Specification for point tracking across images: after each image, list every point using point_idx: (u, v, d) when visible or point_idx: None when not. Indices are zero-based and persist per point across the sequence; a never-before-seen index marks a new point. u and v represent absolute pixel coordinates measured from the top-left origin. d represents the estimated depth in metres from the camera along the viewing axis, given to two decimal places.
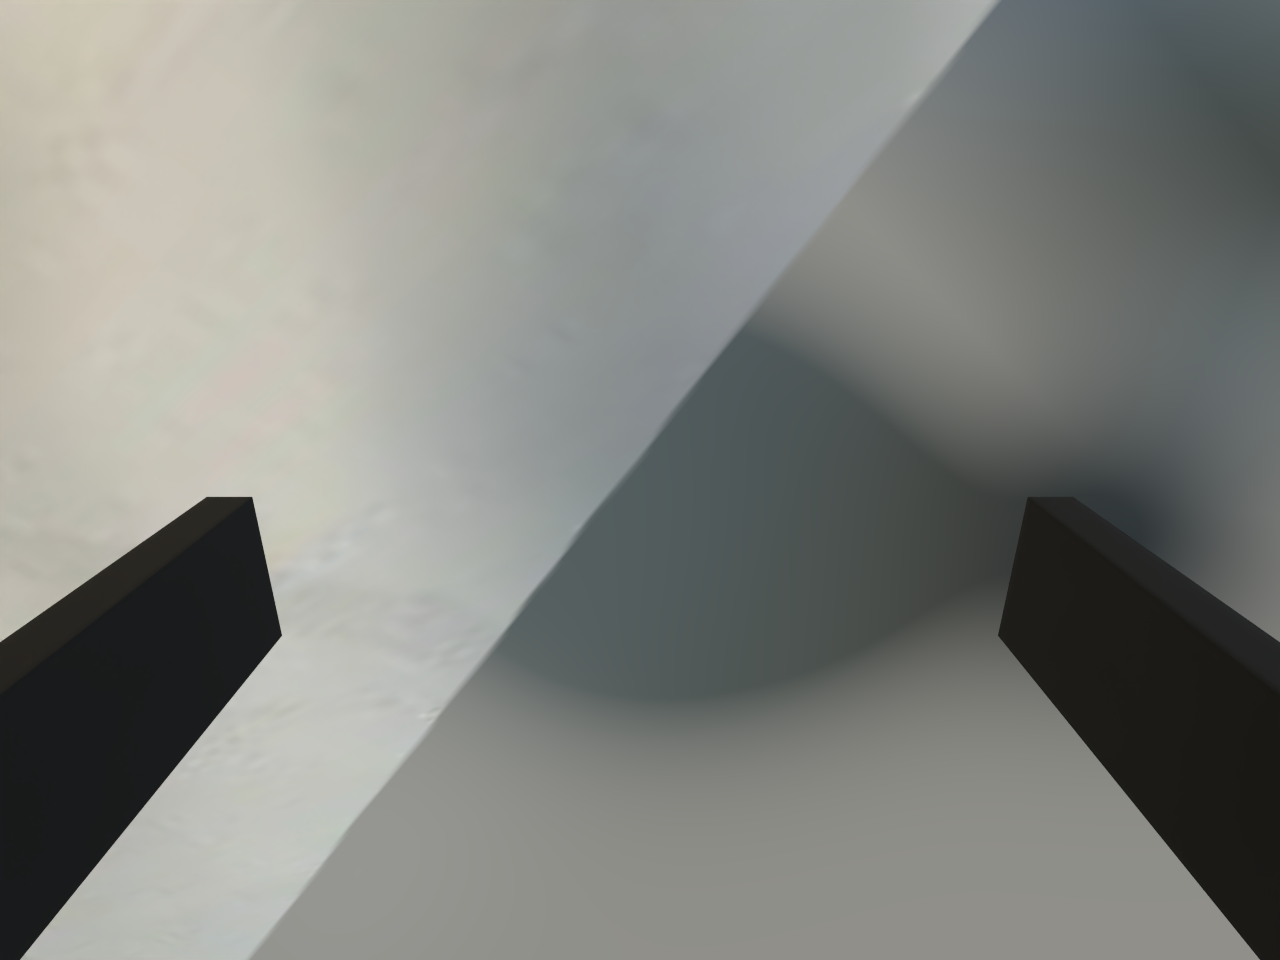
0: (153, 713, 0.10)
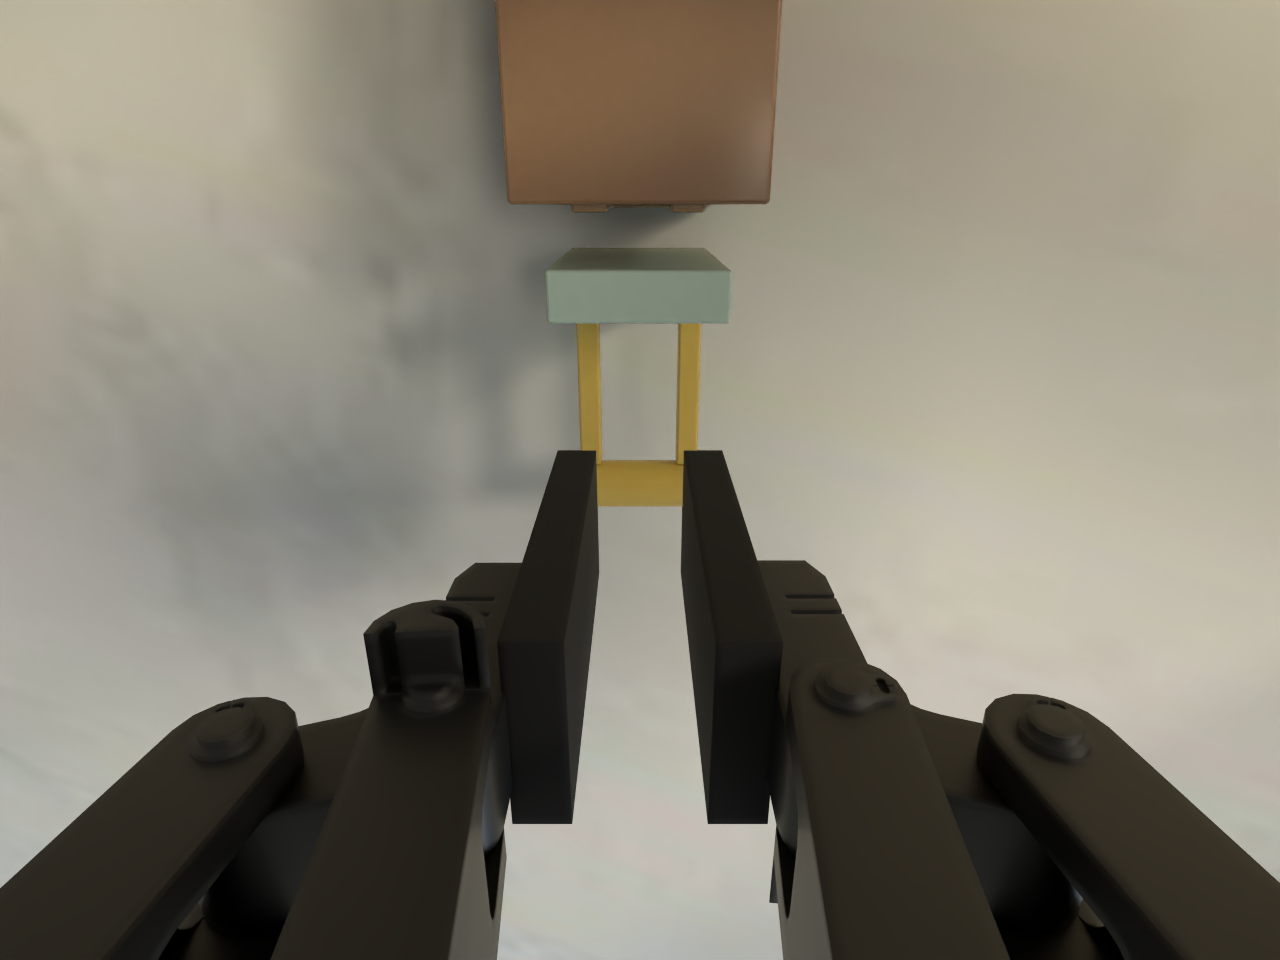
0: (586, 617, 0.12)
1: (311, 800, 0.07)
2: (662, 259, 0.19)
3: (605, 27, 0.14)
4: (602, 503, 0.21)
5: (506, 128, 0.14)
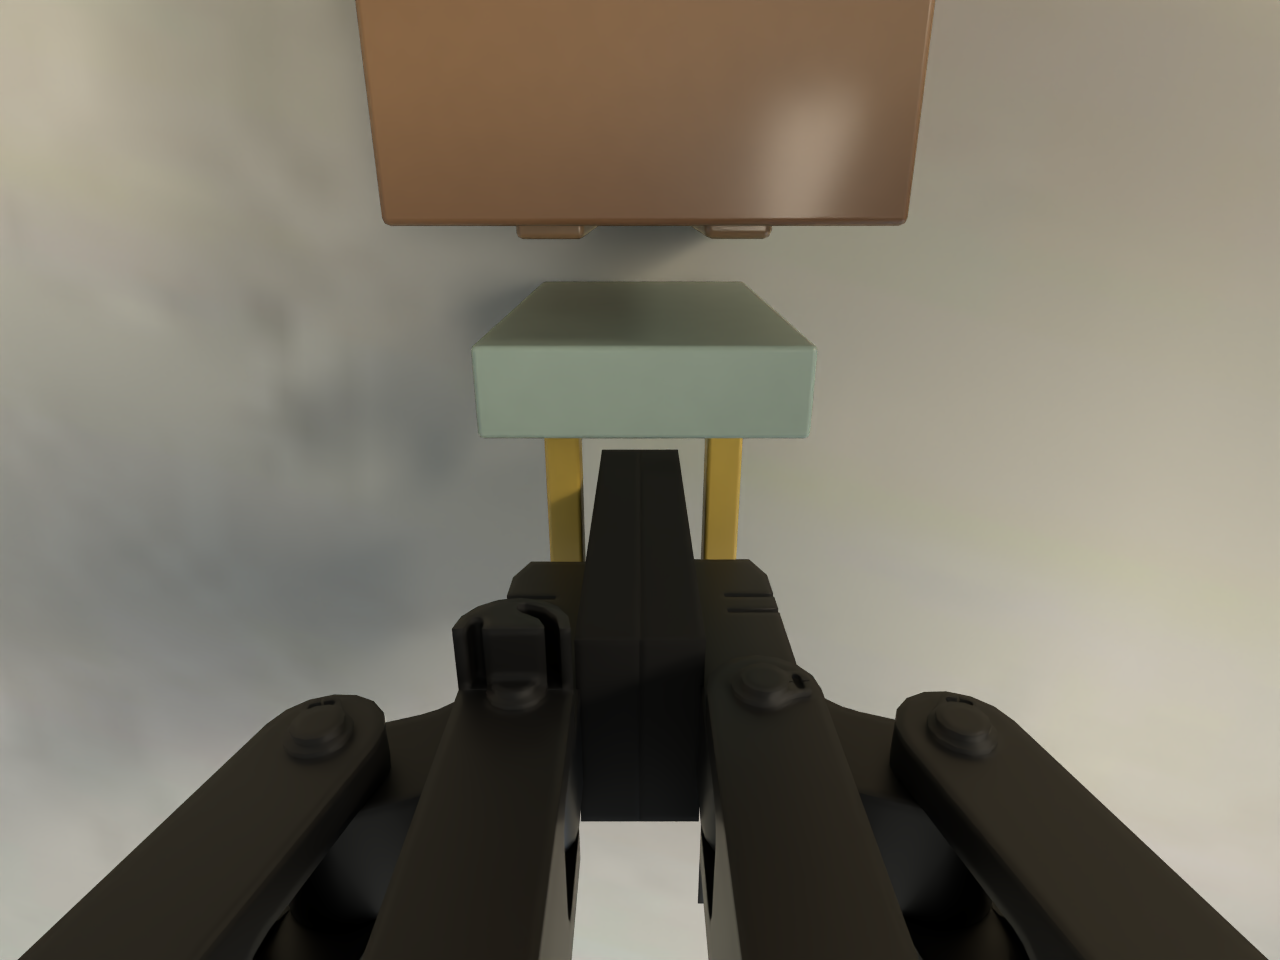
0: None
1: (403, 797, 0.07)
2: (683, 311, 0.11)
3: None
4: None
5: (369, 69, 0.07)
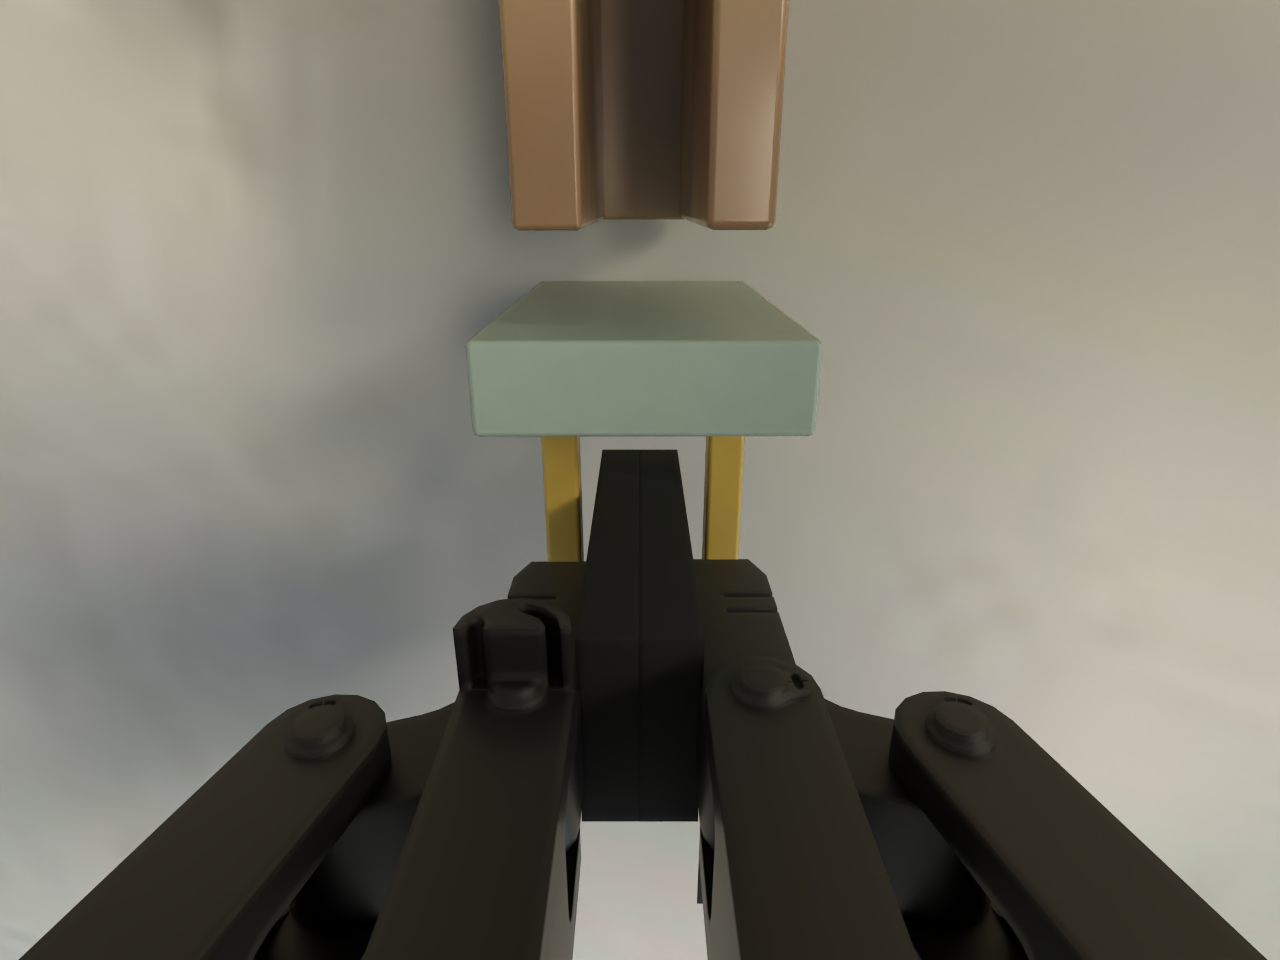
0: None
1: (403, 797, 0.07)
2: (683, 308, 0.11)
3: None
4: None
5: None
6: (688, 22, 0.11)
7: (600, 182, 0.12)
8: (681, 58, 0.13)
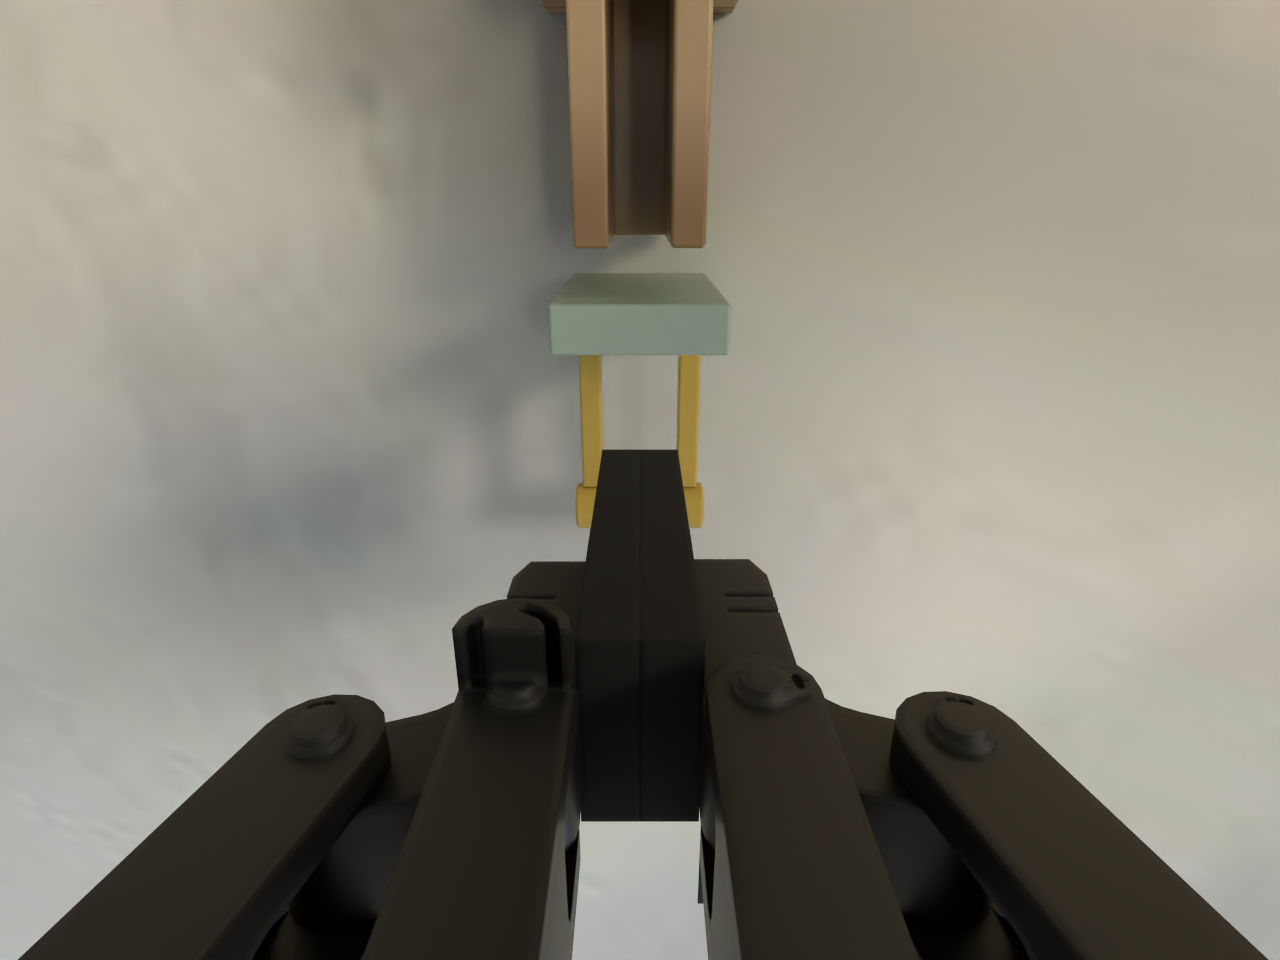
0: None
1: (403, 797, 0.07)
2: (663, 289, 0.19)
3: None
4: None
5: None
6: (666, 123, 0.19)
7: (614, 214, 0.20)
8: (663, 137, 0.21)
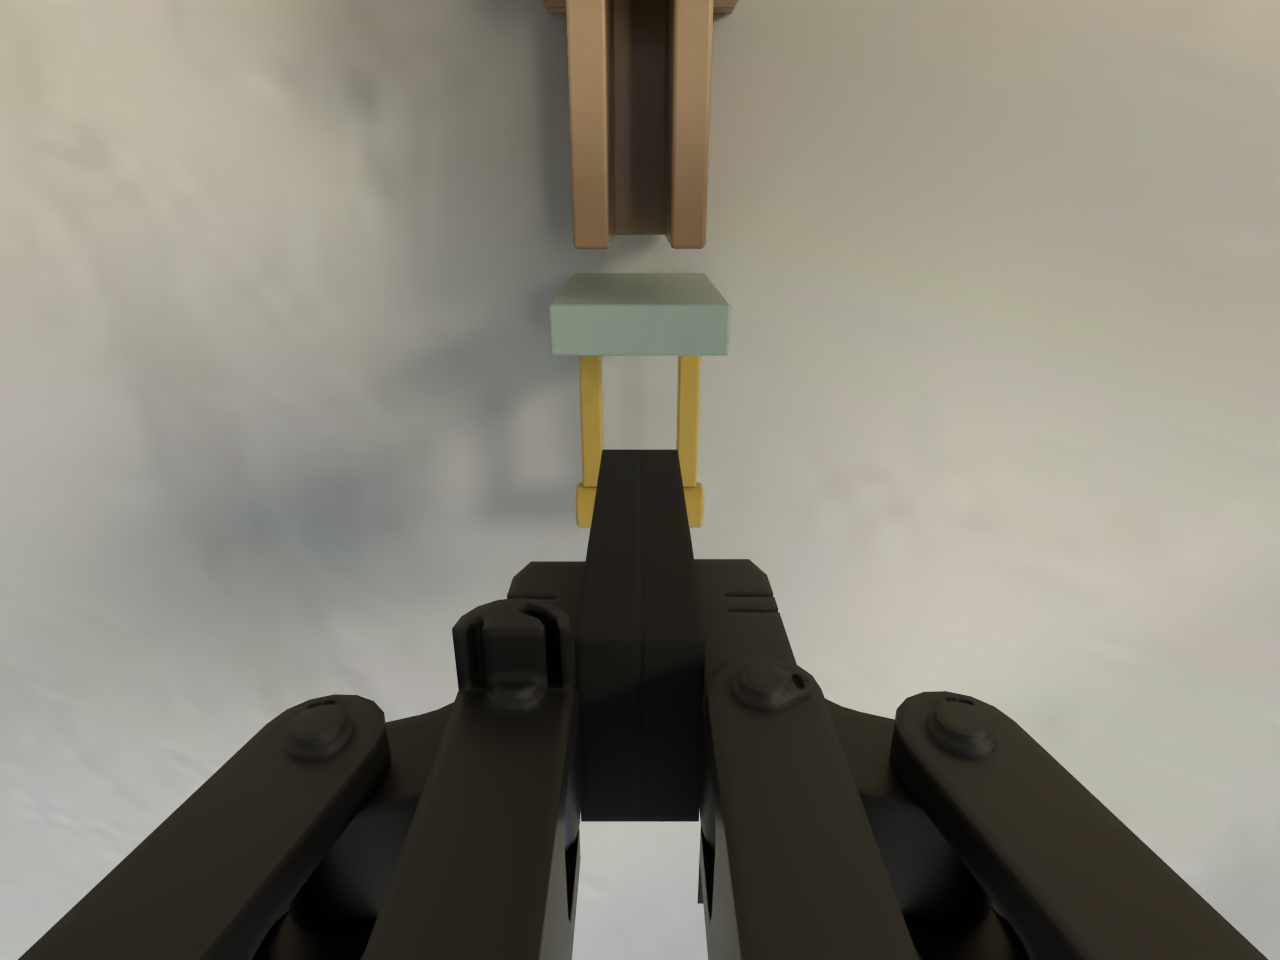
0: None
1: (403, 797, 0.07)
2: (662, 289, 0.19)
3: None
4: None
5: None
6: (666, 124, 0.19)
7: (614, 214, 0.20)
8: (663, 137, 0.21)
